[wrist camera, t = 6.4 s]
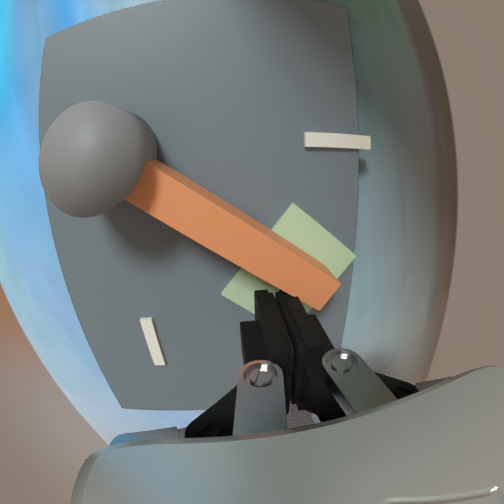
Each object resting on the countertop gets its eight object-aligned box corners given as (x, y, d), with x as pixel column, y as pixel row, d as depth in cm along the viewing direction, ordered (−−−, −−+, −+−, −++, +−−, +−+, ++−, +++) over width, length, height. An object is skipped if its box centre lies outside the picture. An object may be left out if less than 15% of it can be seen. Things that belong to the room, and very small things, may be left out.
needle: (63, 175, 9) (26, 186, 6) (103, 97, 8) (70, 84, 6) (292, 307, 13) (309, 345, 10) (340, 245, 12) (370, 272, 9)
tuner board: (56, 43, 8) (43, 36, 6) (344, 16, 9) (356, 6, 8) (125, 395, 16) (121, 410, 14) (332, 378, 17) (338, 392, 16)
